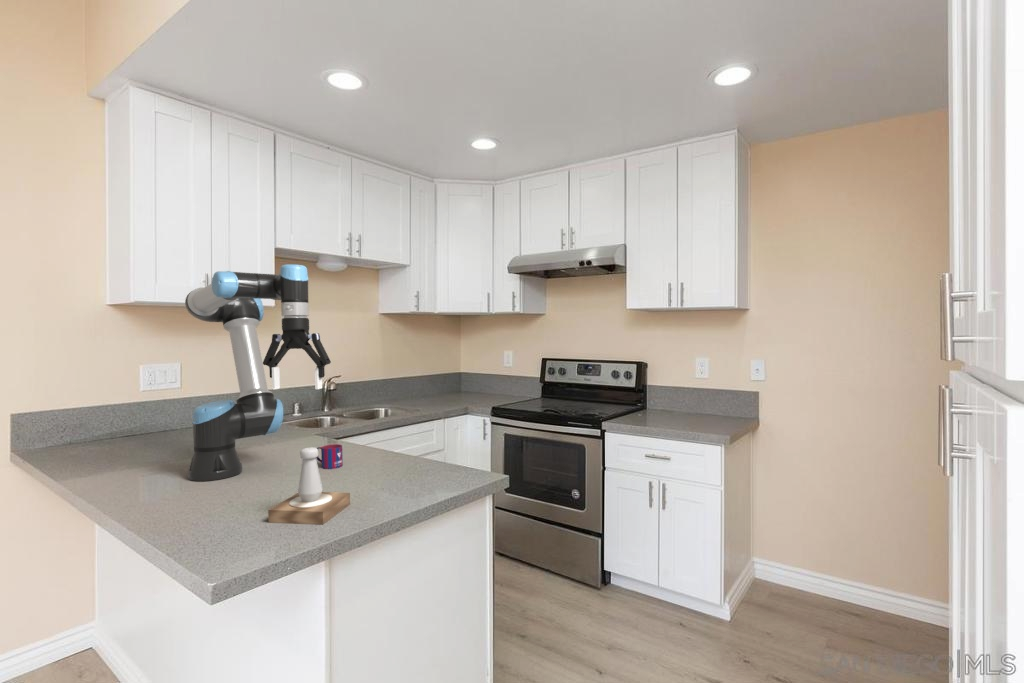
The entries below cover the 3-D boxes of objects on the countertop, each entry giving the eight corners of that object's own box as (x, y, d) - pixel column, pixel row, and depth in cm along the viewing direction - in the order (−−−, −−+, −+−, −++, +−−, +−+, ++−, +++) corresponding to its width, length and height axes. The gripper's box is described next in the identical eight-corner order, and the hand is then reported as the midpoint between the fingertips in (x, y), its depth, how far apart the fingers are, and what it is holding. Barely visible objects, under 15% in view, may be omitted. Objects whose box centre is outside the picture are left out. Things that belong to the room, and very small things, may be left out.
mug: (332, 470, 169) (331, 449, 169) (310, 467, 173) (309, 446, 173) (346, 465, 175) (346, 445, 175) (325, 462, 179) (324, 442, 179)
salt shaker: (327, 498, 129) (326, 447, 129) (306, 505, 125) (304, 452, 124) (315, 494, 133) (313, 444, 133) (293, 500, 128) (292, 449, 128)
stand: (268, 522, 123) (268, 508, 123) (300, 502, 137) (300, 490, 137) (323, 524, 121) (322, 510, 121) (350, 504, 135) (349, 491, 135)
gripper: (248, 318, 150) (250, 390, 150) (328, 316, 146) (330, 390, 147) (264, 318, 157) (266, 387, 158) (341, 316, 154) (342, 387, 154)
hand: (297, 388), depth 152 cm, fingers open, 13 cm apart
